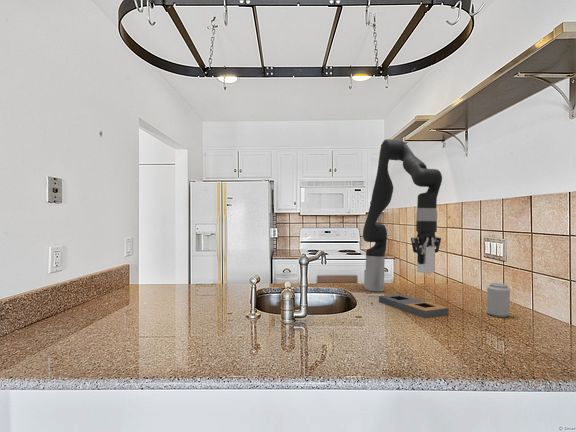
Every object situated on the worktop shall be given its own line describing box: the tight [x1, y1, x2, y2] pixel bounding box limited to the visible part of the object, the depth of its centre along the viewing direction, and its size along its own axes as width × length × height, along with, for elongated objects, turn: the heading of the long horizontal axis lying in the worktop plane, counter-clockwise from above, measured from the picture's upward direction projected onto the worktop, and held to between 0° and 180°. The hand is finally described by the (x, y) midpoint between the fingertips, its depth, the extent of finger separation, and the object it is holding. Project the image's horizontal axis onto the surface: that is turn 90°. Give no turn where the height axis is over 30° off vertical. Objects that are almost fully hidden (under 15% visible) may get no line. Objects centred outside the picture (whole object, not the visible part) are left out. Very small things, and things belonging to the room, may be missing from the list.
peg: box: [416, 246, 436, 274], centre depth 141 cm, size 4×4×10 cm
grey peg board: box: [378, 293, 449, 319], centre depth 147 cm, size 26×12×3 cm, turn 25°
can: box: [486, 282, 511, 318], centre depth 139 cm, size 8×8×12 cm
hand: (425, 263), depth 141 cm, fingers closed on peg, 4 cm apart
